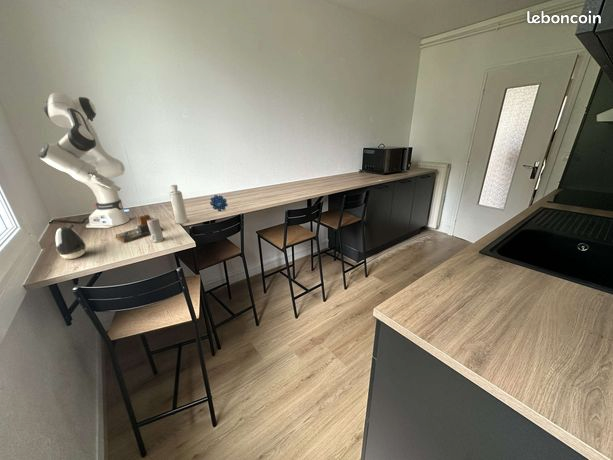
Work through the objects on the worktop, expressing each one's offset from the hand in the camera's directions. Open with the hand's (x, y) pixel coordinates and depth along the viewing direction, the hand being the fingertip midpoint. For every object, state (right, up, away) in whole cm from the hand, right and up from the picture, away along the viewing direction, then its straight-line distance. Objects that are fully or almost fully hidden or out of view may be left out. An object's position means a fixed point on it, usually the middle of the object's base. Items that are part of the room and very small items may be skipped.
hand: (116, 188), depth 129 cm
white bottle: (+19, -16, +31) cm, 40 cm away
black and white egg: (-13, -34, -9) cm, 38 cm away
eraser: (+6, -21, +16) cm, 27 cm away
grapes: (+38, -9, +48) cm, 61 cm away
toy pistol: (+3, -24, +14) cm, 28 cm away
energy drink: (+19, -27, +6) cm, 33 cm away
